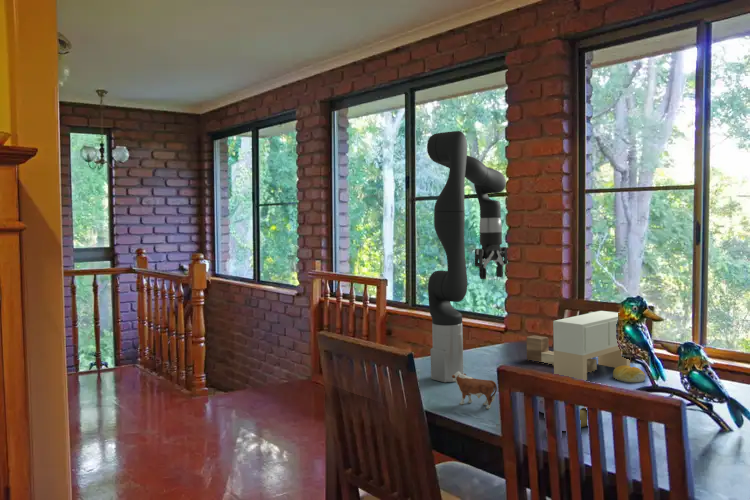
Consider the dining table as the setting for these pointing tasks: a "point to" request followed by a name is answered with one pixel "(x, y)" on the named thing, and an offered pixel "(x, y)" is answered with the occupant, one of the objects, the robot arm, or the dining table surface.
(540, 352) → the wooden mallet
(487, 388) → the bull figurine
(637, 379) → the bread roll
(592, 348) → the cabinet
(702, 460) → the dining table surface
